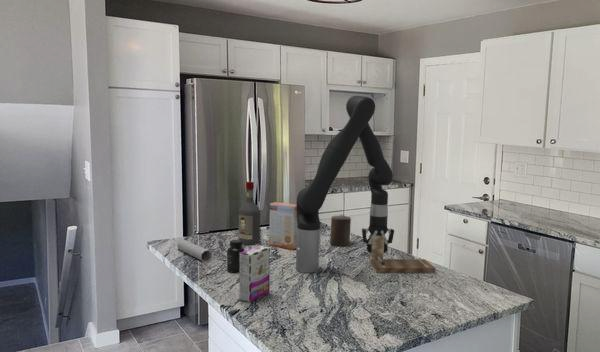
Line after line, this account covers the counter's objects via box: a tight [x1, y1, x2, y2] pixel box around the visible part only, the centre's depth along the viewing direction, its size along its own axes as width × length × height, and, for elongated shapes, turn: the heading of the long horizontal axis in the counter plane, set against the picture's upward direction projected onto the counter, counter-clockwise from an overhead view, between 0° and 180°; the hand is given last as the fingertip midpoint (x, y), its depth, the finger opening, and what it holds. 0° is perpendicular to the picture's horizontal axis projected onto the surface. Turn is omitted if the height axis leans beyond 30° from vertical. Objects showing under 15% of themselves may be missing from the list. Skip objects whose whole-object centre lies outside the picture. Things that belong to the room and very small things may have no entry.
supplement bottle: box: [226, 239, 246, 274], centre depth 185 cm, size 7×7×12 cm
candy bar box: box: [239, 245, 271, 303], centre depth 158 cm, size 11×5×16 cm, turn 148°
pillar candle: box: [329, 215, 352, 248], centre depth 229 cm, size 10×10×15 cm
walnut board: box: [370, 258, 436, 274], centre depth 194 cm, size 24×12×2 cm, turn 94°
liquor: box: [238, 181, 261, 246], centre depth 227 cm, size 9×9×30 cm
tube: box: [176, 239, 213, 263], centre depth 205 cm, size 5×5×25 cm
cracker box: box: [268, 201, 297, 251], centre depth 222 cm, size 14×6×21 cm, turn 58°
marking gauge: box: [369, 235, 385, 265], centre depth 196 cm, size 5×13×12 cm, turn 4°
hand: (376, 252), depth 201 cm, fingers open, 6 cm apart
